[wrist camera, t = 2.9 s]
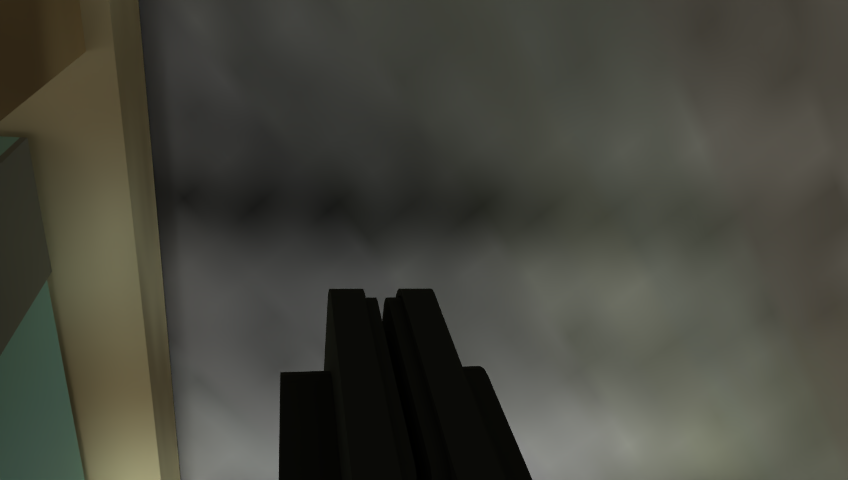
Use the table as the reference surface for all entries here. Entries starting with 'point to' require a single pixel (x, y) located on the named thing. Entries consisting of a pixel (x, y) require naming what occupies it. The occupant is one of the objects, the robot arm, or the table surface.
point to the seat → (96, 222)
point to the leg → (29, 336)
